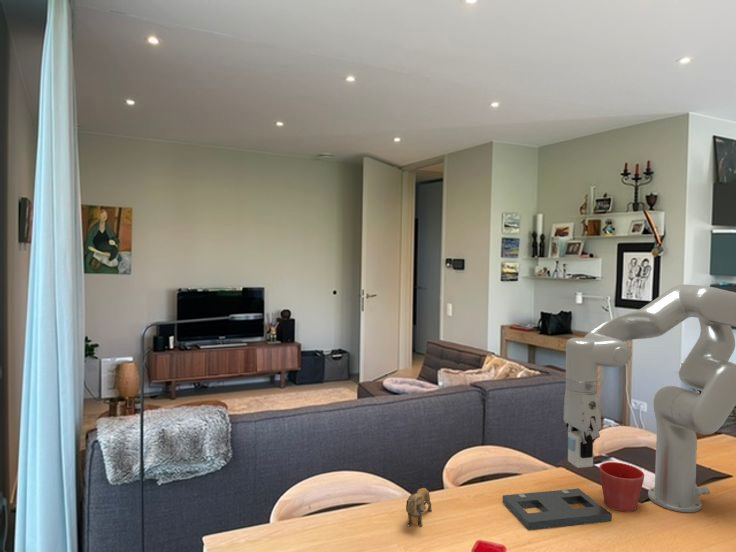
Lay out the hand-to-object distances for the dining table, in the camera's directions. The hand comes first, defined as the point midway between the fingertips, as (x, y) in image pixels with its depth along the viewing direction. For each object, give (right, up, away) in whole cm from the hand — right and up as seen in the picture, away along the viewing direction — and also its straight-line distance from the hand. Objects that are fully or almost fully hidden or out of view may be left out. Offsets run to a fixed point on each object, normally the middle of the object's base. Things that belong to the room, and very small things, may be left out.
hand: (580, 452), depth 134 cm
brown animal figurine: (-43, -15, -6) cm, 46 cm away
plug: (0, -3, 0) cm, 3 cm away
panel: (-7, -15, -1) cm, 17 cm away
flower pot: (+12, -16, +3) cm, 20 cm away
